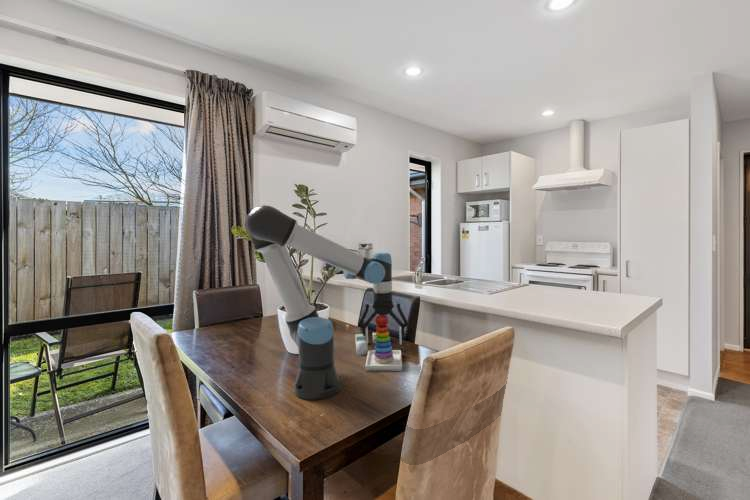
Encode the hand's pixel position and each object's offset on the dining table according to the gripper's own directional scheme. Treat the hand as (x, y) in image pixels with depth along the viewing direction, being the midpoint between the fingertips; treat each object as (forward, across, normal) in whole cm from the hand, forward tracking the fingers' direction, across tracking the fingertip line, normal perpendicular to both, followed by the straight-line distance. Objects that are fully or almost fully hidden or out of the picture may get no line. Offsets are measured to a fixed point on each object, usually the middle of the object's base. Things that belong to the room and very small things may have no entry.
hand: (383, 343), depth 143 cm
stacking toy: (+7, 0, 0) cm, 7 cm away
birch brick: (+8, +3, -28) cm, 29 cm away
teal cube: (+8, +12, -25) cm, 29 cm away
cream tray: (+8, 0, 0) cm, 8 cm away
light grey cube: (+8, +10, -11) cm, 17 cm away
